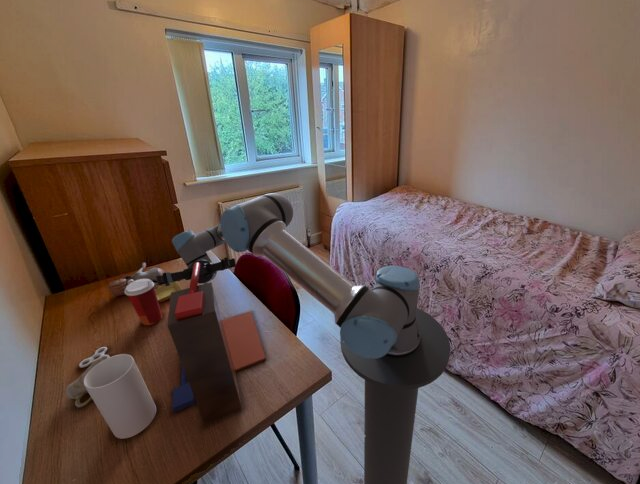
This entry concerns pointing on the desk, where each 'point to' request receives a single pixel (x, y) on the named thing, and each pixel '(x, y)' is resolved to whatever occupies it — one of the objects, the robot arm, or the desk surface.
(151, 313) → the paper cup
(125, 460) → the desk surface
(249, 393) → the desk surface
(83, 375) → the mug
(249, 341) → the mat
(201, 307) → the red spatula
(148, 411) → the cup
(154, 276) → the anime character
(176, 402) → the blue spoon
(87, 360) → the fidget spinner
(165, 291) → the yellow square tray
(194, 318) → the stand
